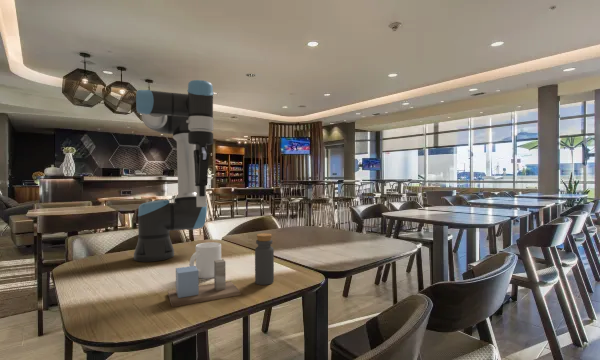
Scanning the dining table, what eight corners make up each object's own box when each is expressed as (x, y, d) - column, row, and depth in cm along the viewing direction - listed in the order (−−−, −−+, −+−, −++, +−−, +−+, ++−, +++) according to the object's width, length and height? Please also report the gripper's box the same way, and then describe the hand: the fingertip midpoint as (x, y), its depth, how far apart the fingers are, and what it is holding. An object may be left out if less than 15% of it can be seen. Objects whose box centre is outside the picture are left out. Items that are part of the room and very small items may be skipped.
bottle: (265, 277, 105) (265, 232, 105) (277, 281, 101) (277, 234, 101) (251, 281, 101) (251, 234, 101) (262, 286, 97) (262, 237, 97)
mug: (198, 284, 99) (198, 250, 99) (181, 279, 104) (180, 247, 104) (226, 273, 110) (226, 243, 110) (209, 270, 114) (209, 241, 114)
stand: (168, 294, 91) (167, 262, 91) (230, 284, 99) (230, 255, 99) (171, 307, 82) (171, 272, 82) (240, 294, 90) (240, 262, 90)
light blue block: (176, 291, 89) (175, 268, 89) (195, 288, 92) (195, 265, 92) (178, 298, 85) (178, 273, 85) (198, 294, 87) (198, 270, 87)
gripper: (185, 133, 105) (186, 205, 105) (191, 128, 93) (192, 209, 94) (208, 134, 108) (209, 204, 109) (217, 129, 96) (218, 208, 97)
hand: (201, 206), depth 101 cm, fingers closed
